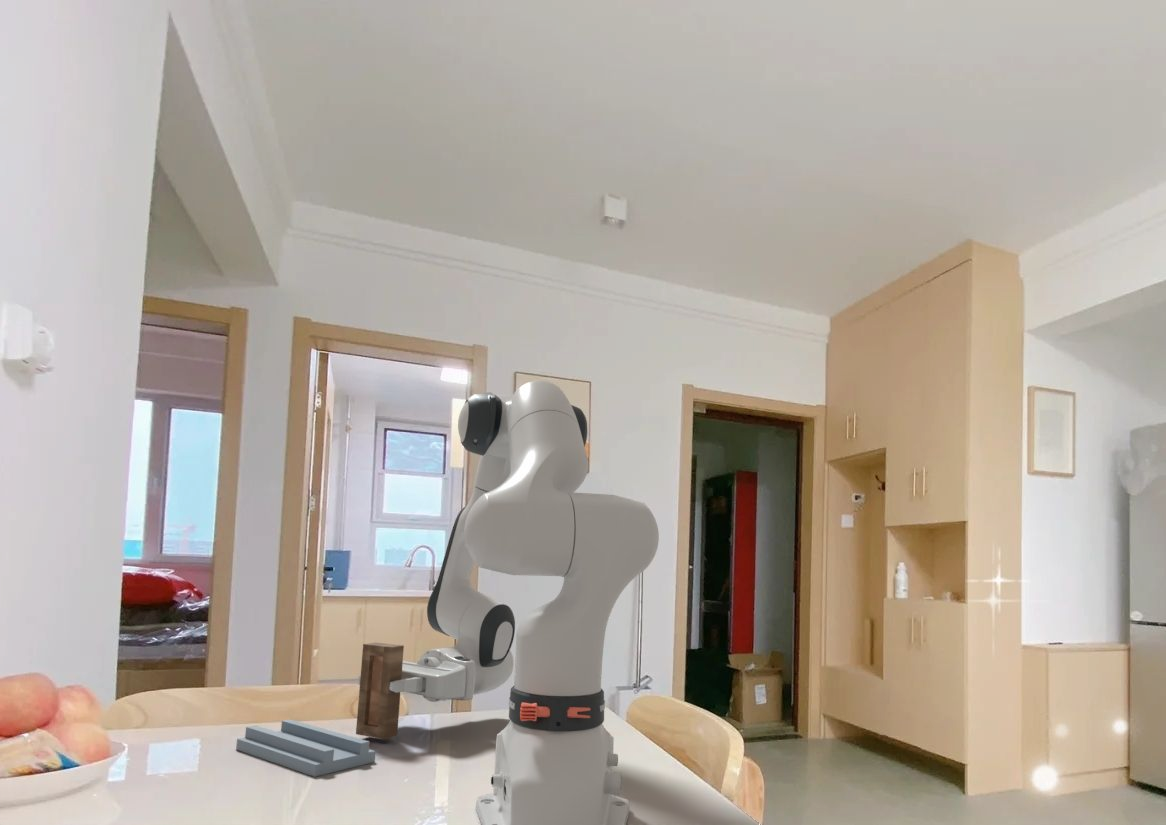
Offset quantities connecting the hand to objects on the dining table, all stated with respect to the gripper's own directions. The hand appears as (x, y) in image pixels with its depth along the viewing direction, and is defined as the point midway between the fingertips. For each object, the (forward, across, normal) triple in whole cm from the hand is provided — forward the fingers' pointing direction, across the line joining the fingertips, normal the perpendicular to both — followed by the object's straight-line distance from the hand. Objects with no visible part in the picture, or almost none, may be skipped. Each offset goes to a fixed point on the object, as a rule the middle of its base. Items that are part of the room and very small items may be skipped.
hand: (376, 683), depth 122 cm
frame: (-1, 0, +8) cm, 8 cm away
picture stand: (+12, 0, +9) cm, 15 cm away
